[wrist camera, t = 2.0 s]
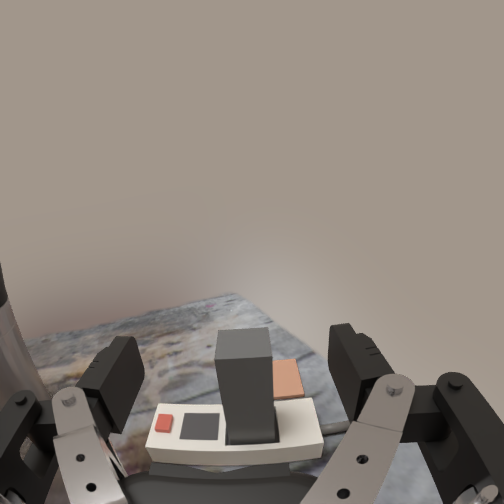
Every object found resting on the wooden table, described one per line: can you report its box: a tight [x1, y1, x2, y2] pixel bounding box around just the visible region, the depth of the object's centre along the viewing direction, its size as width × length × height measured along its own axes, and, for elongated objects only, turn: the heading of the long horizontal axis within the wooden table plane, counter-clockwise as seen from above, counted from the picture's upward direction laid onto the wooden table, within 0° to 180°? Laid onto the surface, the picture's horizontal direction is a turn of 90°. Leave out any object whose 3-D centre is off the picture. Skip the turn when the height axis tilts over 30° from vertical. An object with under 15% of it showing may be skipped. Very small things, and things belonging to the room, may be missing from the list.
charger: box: [214, 327, 275, 445], centre depth 26 cm, size 4×5×12 cm
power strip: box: [145, 398, 350, 466], centre depth 27 cm, size 22×7×4 cm, turn 92°
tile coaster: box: [273, 359, 304, 400], centre depth 38 cm, size 8×8×1 cm
